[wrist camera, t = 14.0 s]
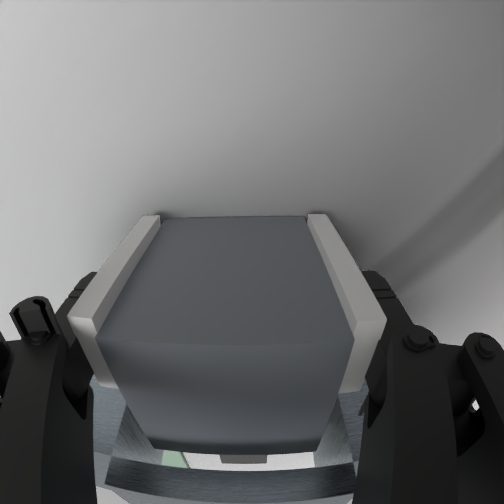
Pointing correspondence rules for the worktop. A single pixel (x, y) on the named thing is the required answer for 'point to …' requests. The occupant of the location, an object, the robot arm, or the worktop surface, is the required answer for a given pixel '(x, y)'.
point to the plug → (229, 338)
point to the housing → (215, 481)
